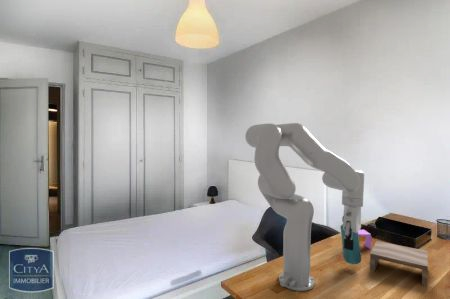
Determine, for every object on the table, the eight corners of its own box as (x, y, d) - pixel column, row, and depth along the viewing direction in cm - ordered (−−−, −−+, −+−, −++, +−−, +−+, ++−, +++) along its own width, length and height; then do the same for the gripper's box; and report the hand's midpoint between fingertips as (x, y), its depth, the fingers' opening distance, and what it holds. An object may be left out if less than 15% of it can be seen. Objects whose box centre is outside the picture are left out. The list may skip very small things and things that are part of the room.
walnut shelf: (427, 285, 94) (427, 266, 94) (369, 270, 105) (370, 253, 105) (427, 268, 107) (427, 251, 107) (376, 256, 118) (376, 240, 118)
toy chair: (373, 250, 124) (373, 218, 123) (354, 250, 124) (354, 218, 124) (364, 243, 132) (365, 213, 132) (346, 243, 133) (347, 213, 132)
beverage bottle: (363, 268, 103) (359, 219, 100) (345, 268, 105) (340, 220, 102) (360, 258, 109) (355, 212, 107) (342, 258, 111) (337, 213, 109)
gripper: (358, 206, 96) (356, 256, 97) (366, 199, 110) (364, 243, 110) (336, 203, 101) (334, 251, 101) (347, 196, 114) (345, 238, 115)
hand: (350, 246), depth 106 cm, fingers closed on beverage bottle, 5 cm apart
